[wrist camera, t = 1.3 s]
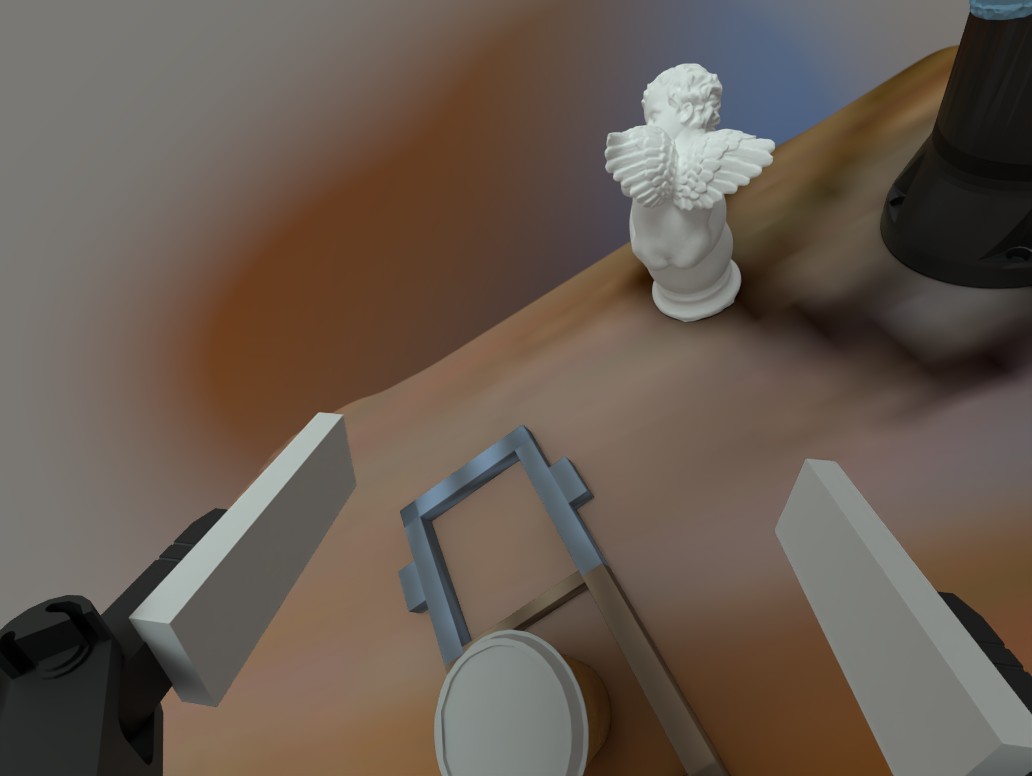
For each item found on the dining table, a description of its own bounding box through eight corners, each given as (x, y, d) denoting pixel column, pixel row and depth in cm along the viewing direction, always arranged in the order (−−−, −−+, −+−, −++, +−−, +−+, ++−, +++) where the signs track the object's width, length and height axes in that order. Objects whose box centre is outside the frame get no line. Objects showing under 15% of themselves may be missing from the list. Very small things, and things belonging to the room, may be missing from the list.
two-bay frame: (546, 420, 48) (538, 412, 46) (768, 777, 28) (768, 784, 27) (396, 525, 50) (385, 521, 48) (508, 925, 30) (494, 939, 29)
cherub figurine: (690, 240, 51) (655, 24, 34) (805, 272, 43) (835, 13, 26) (623, 320, 49) (551, 137, 32) (730, 369, 42) (709, 161, 24)
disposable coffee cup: (534, 619, 39) (461, 606, 29) (646, 664, 34) (600, 666, 24) (498, 748, 35) (403, 781, 26) (616, 820, 30) (550, 891, 21)
